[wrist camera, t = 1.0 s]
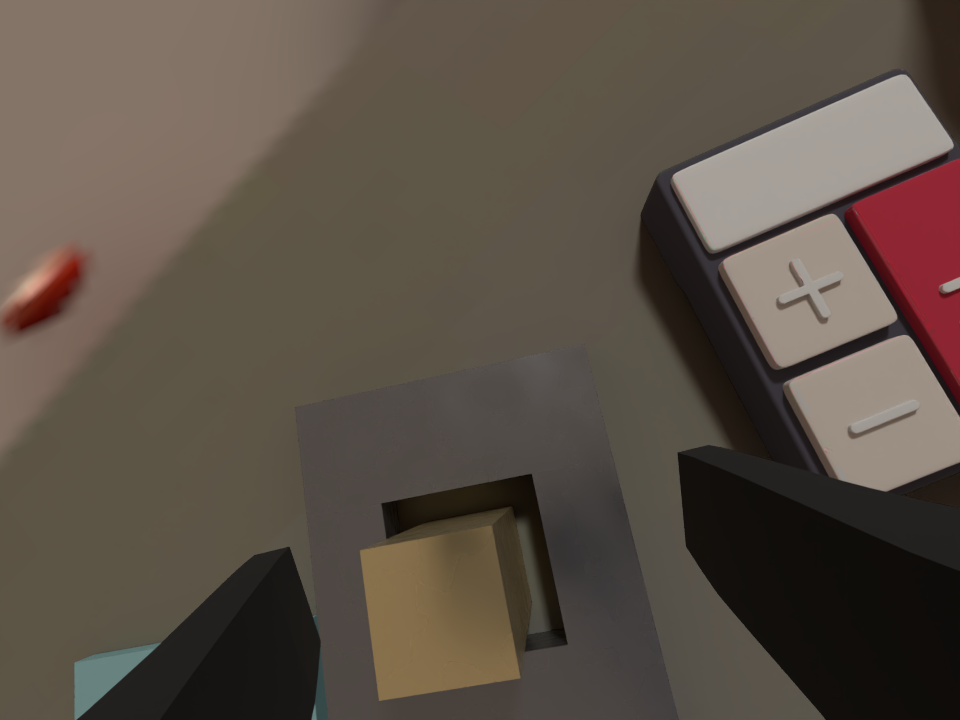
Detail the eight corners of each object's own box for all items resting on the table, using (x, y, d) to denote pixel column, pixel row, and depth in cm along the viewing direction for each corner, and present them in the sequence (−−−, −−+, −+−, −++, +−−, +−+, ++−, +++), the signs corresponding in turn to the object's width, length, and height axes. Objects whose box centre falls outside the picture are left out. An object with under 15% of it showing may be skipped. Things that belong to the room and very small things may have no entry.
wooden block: (531, 602, 21) (520, 678, 14) (440, 618, 22) (379, 701, 14) (512, 505, 22) (491, 525, 15) (425, 522, 23) (359, 550, 15)
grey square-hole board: (726, 937, 18) (748, 996, 16) (380, 973, 19) (360, 1033, 17) (581, 354, 23) (584, 343, 21) (315, 412, 24) (294, 407, 22)
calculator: (850, 526, 17) (656, 163, 20) (789, 509, 22) (636, 211, 24) (1164, 401, 17) (918, 48, 20) (1039, 410, 21) (852, 117, 24)
